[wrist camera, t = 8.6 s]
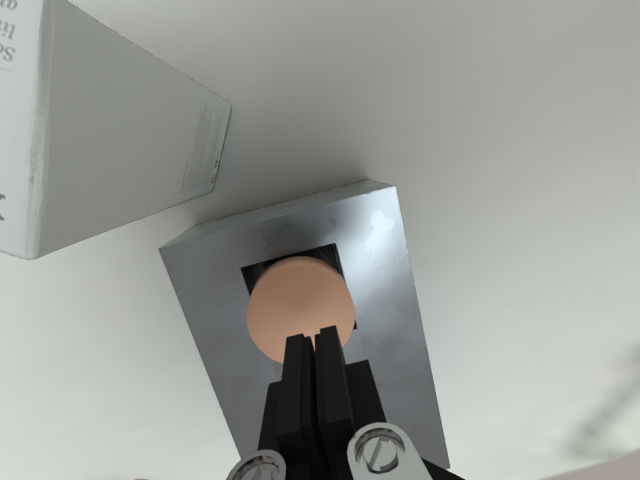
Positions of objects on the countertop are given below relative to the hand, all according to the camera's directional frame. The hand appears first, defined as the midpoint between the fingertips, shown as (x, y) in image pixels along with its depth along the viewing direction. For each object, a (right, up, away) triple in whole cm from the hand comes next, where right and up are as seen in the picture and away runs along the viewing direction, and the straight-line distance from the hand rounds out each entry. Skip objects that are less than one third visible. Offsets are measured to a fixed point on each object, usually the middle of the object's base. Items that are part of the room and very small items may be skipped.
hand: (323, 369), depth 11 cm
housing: (0, -2, +13) cm, 13 cm away
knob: (-1, +2, +12) cm, 12 cm away
